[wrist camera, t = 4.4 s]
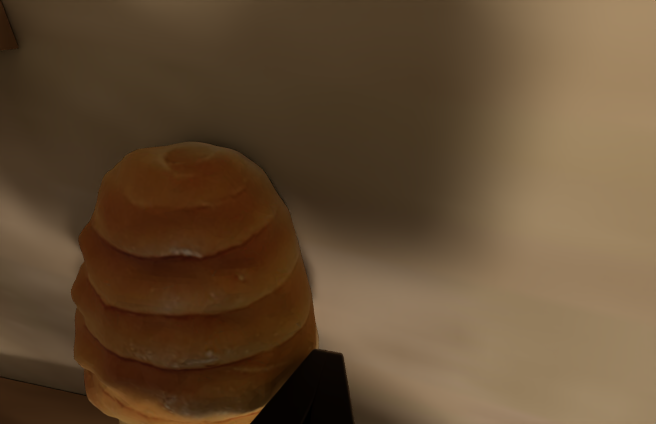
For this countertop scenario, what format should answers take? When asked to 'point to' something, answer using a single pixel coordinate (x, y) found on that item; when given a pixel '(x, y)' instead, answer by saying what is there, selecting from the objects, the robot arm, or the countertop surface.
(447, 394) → the countertop surface
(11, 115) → the countertop surface
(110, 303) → the pastry
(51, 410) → the box
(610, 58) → the countertop surface
